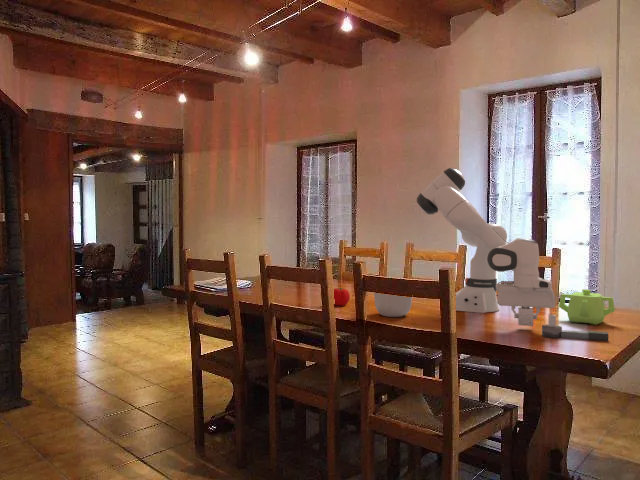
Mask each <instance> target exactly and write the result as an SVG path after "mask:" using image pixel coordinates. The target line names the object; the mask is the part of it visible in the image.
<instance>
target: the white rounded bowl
mask: <svg viewBox="0 0 640 480" xmlns="http://www.w3.org/2000/svg"><path fill="white" fill-rule="evenodd" d="M373 295H374V297H373V298H374V306H375V309H376V311H377V312H378V313H379V314H380V315H381V316H383V317H387V318H399V317H403V316H406V315H407V314H409V312H410V311H411V308H412V305H413V296H412V297H404V296H396V295H387V294H379V293H374V292H373Z"/></svg>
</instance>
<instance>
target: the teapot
mask: <svg viewBox="0 0 640 480" xmlns="http://www.w3.org/2000/svg"><path fill="white" fill-rule="evenodd" d="M581 290H582V292H581V291H575V292H573V293H572V294H571V293H569V294H568V293H561V294H560V298H559V303H558V308H560V309H561V310H563V311H565V312H566V314H567V317H568V319H569V321H570V322H573V323H575V324H580V323H585V324H590V325H593V326H594V325H596V326H597V325H598V324H601V323H602V322H604V319H605V318H606V316H608V315H609V314H612V313H614V312H615V311H616V308H615V301H614V297H613V296H612V297H609V296H602V294H601V293H597V292H596V293H593V292H592V290H591V289H586V288H585V289H584V288H583V289H581ZM566 298H567V299H569V301H568V305H567V304H566ZM604 301H605V302H607V301H608V308H605V304H604Z"/></svg>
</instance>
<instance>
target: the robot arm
mask: <svg viewBox="0 0 640 480" xmlns="http://www.w3.org/2000/svg"><path fill="white" fill-rule="evenodd" d="M465 185H466V180H465V177H464V175H463V173H462V172H460V170H458V169H455V168H453V167H448V168H446V169H445V170H444V171H443V172H442V173H441V174H439V175H437V176H436V177H435V178H434V179H433V180H432V181H431V182H430V183H429V184H428V185H427V186H426V187H425V189H424V190H422V192H420V193H419V194H418V195H417V197H416V203H417V206H418V207H419V209H420V210H421V211H422V212H423V213H425V214H426V215H434V214H437V213H438V212H440V214H441V215H442V216H443V217H444V218H445V220H446V221H448V222H449V224H450V225H452V227H454V228H455V229H457V230H459V232H460V234H461V239H462V241H463V242H464V243H465V244H466V245H469V246H471V247H475V248H476V249H475V253H474V256H473V257H472V258H471V259H470V264H469V265H470V266H469V267H470V270H469V272H470V273H469V276H470V277H466V278H465V279H464V281H465V286H464V287H462V288H460V289H459V290H457V292H455V294H456V310H455V311H459V312H466V313H468V312H469V313H477V314H478V313H480V314H484V313H492V312H493V313H494V312H499V311H500V308H499V306H501V307H502V306H503V307H511V309H510V310H511V311H512V312H513V314H514V319H518V316H519V314H518V312H516V307H518V306H520V307H533V308H535V309H536V312H535V313H533V320H537V319H538V315H539V314H540V313H541V309H554V308H556V305H557V304H556V295H555V292H554V290H553V288H552V287H553V283H552V281H551V280H548V279H545V278H542V277H540V272H539V265H540V249H539V244H538V242H537V241H536V240H534V239H532V238H528V237H527V238H525V237H517V238H515V239H514V240H512V241H510V242H508V241H507V239H508V233H507V230H506V229H505V228H504V227H503V226H501V225H499V224H497V223H493V222H492V223H489V222H488V223H487V222H486V221H485V219H484V218H483V217H482V215H481V214H480V213H479V212H478V211H477V208H476V207H475V206H474V205H473V204H472V203H471V202H470V201H469V200H468V199H467V198H466V197H465V196H464V195H463V194H462V193H461V192H460V191H462V190H463V188H464V187H465ZM507 271H513V280H508V281H505V280H500V281H499V282H498V281H497V280H498V279H497V272H499V273H502V272H507ZM497 292H498V293H497Z"/></svg>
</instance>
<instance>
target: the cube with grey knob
mask: <svg viewBox="0 0 640 480" xmlns="http://www.w3.org/2000/svg"><path fill="white" fill-rule="evenodd" d="M517 307H518V312H517V313H518V314H519V316H518V318H517V320H518V321H517V325H518V326H525V327H526V326H527V327H533V326H534V319H533V314H534V307H520V306H517Z"/></svg>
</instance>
